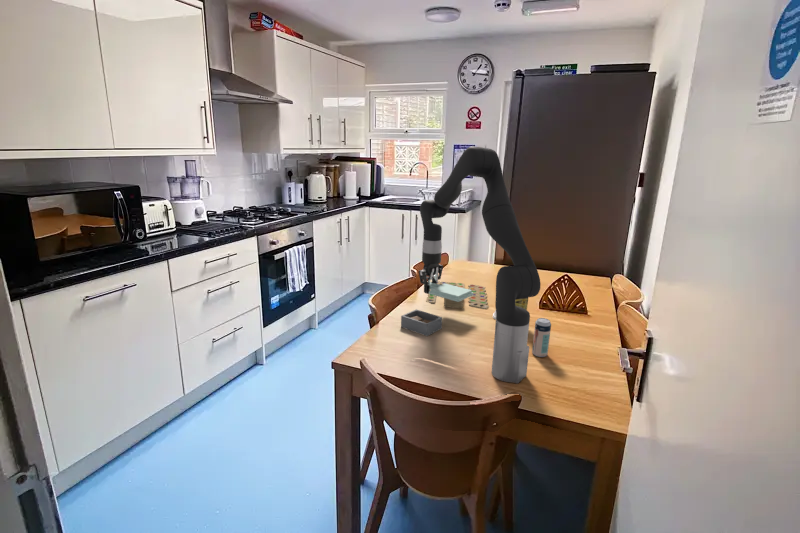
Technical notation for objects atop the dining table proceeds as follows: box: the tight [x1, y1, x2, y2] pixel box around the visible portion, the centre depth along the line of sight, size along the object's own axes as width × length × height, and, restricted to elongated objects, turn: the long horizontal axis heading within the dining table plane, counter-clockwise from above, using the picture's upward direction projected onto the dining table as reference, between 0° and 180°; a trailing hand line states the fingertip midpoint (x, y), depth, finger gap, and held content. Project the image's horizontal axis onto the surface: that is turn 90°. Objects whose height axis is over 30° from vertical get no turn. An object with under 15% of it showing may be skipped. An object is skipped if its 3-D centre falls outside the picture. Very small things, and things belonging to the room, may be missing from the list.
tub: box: [400, 308, 443, 337], centre depth 153 cm, size 12×9×5 cm
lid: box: [429, 281, 473, 302], centre depth 163 cm, size 18×11×2 cm, turn 50°
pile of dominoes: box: [425, 280, 490, 310], centre depth 192 cm, size 35×27×6 cm
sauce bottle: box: [515, 297, 529, 311], centre depth 156 cm, size 6×6×20 cm
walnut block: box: [411, 316, 423, 322], centre depth 155 cm, size 4×4×3 cm
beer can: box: [531, 317, 552, 358], centre depth 134 cm, size 5×5×12 cm
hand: (430, 291), depth 168 cm, fingers closed on lid, 4 cm apart
